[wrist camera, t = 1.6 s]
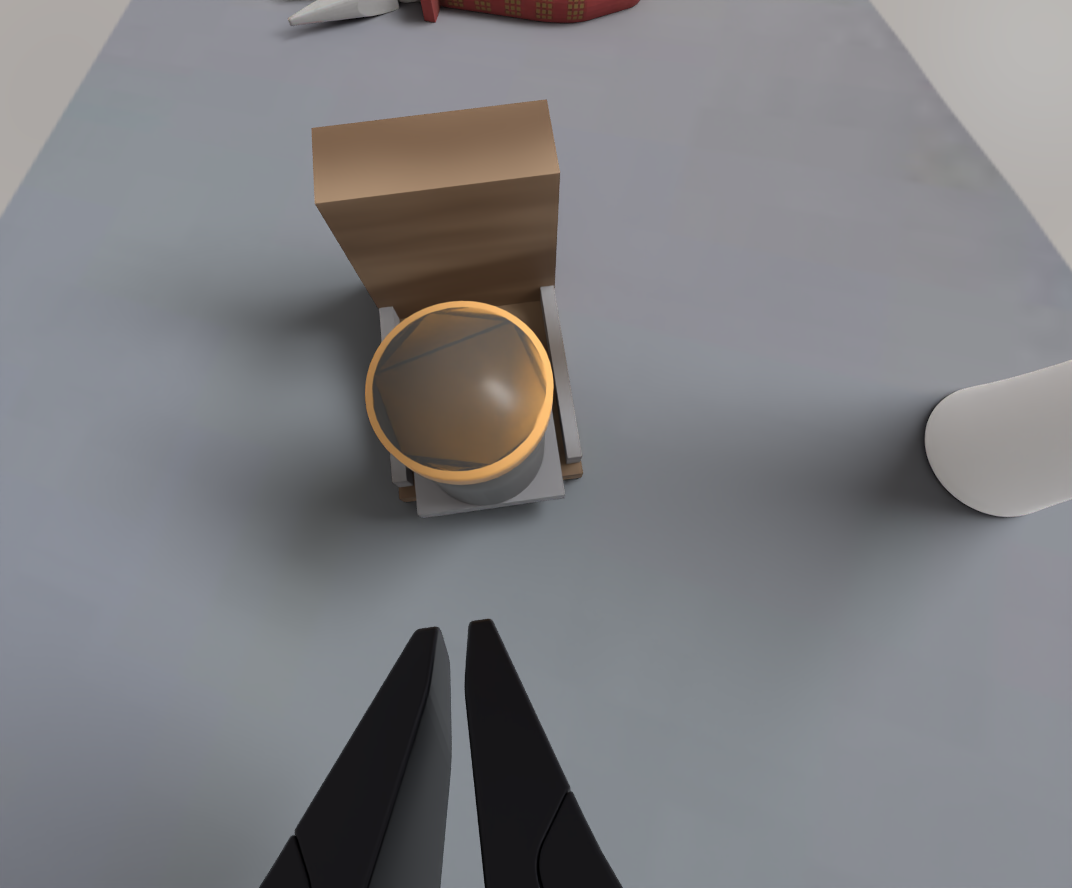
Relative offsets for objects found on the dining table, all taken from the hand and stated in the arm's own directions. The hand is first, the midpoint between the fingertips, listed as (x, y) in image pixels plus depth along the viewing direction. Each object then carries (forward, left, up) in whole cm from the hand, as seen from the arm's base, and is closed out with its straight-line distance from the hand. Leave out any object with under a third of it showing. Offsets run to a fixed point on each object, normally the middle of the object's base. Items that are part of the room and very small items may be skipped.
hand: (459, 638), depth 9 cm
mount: (+8, -8, -14) cm, 18 cm away
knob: (+4, -5, -12) cm, 14 cm away
